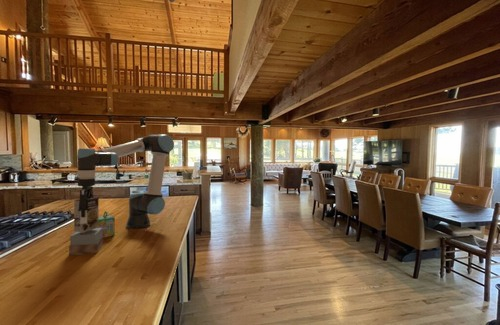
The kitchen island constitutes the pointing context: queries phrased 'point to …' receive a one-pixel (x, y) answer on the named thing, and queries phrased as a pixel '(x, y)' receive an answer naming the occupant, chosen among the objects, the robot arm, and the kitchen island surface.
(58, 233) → the kitchen island surface
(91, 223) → the coffee box
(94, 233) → the grey flat block
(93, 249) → the tower base
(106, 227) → the chalk box
